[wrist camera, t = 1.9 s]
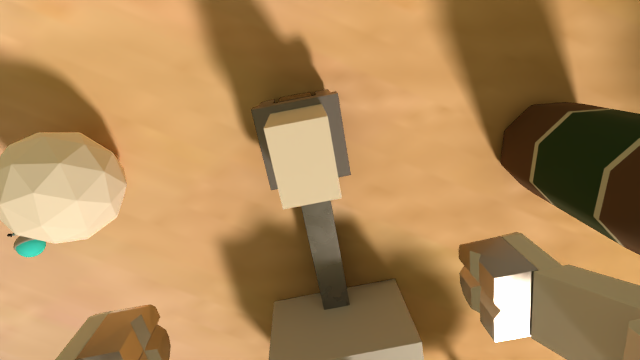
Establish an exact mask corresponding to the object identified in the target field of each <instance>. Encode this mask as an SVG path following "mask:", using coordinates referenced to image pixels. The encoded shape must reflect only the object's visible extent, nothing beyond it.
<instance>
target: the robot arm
mask: <svg viewBox="0 0 640 360" xmlns="http://www.w3.org/2000/svg"><path fill="white" fill-rule="evenodd" d="M459 259H460V261H461V262H462V263H463V265H464V267H463V268H462V270H461V271H460V284H461V287H462V291H463V294H464V296H465V298H466V301H467V302H468V304H469V305H470V307H471V308H472V309H473V310H475V311H477V312H479V313H480V321H481V323H482V324H483V326H484V327H485V329H486V330H487V332H488V333H489V334H490V336H491V337H492V339H493V340H494V342H498V341H505V340H511V339H517V338H523V337H529V336H531V338H532V339H534V340H535V341H537V342H539V343H540V344H542V345H544V346H545V347H547V348H549V349H550V350H552V351H554V352H555V353H557V354H559V355H560V356H562V357H564V358H565V359H567V360H640V286H639V285H636V284H632V283H629V282H626V281H622V280H619V279H616V278H612V277H609V276H605V275H602V274H599V273H595V272H592V271H589V270H585V269H582V268H578V267H575V266H572V265H565V266H562V265H561V264H560V263H558V262H557V261H556V260H555V259H553V258H552V257H551V256H549V255H548V254H547V253H546V252H544V251H543V250H542V249H541V248H539V247H538V246H537V245H536V244H534V243H533V242H532V241H530V240H529V239H528V238H527V237H525V236H524V235H523V234H522V233H518V232H515V233H510V234H506V235H501V236H498V237H494V238H490V239H485V240H480V241H475V242H470V243H466V244H461V245H460V246H459ZM159 318H160V315H159V313H158V311H157V309H156V307H155V306H153V305H144V306H138V307H132V308H127V309H121V310H115V311H109V312H104V313H99V314H95V315H93V316H90V317H89V318H88V319H87V320H86V322H85V323H84V324H83V325H82V327H81V328H80V329H79V330H78V332H77V333H76V334H75V336H74V337H73V338H72V339H71V341H70V342H69V343H68V344H67V346H66V347H65V348H64V349H63V351H62V352H61V353H60V354H59V356H58V357H57V358H56V359H55V360H169V357H170V347H171V346H170V340H169V336H168V334H167V331H166V330H165V329H164V328H162V327H161V326H159V325H158V321H159Z"/></svg>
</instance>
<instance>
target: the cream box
mask: <svg viewBox="0 0 640 360" xmlns="http://www.w3.org/2000/svg"><path fill="white" fill-rule="evenodd" d="M251 111H252V115H253V119H254V123H255V127H256V131H257V135H258V139H259V143H260V148H261V152H262V156H263V160H264V164H265V168H266V172H267V176H268V180H269V184H270V188H271V190H275V189H278V191H279V195H280V199H281V203H282V207H283V209H288V208H293V207H299V206H304V205H309V204H314V203H319V202H325V201H330V200H335V199H340V198H342V196H341V190H340V184H339V178H338V177H343V176H348V175H351V173H350V167H349V161H348V154H347V148H346V142H345V136H344V129H343V123H342V117H341V111H340V104H339V98H338V93H337V92H336V91H335V92H330V91H329V90H328V89H326V90H321V91H316V92H315V96H310V97H304V98H299V99H294V100H289V101H284V102H278V103H275V99H274V100H269V101H264V102H261V104H260V105H259V106H258V107H253V108H252V109H251Z"/></svg>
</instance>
